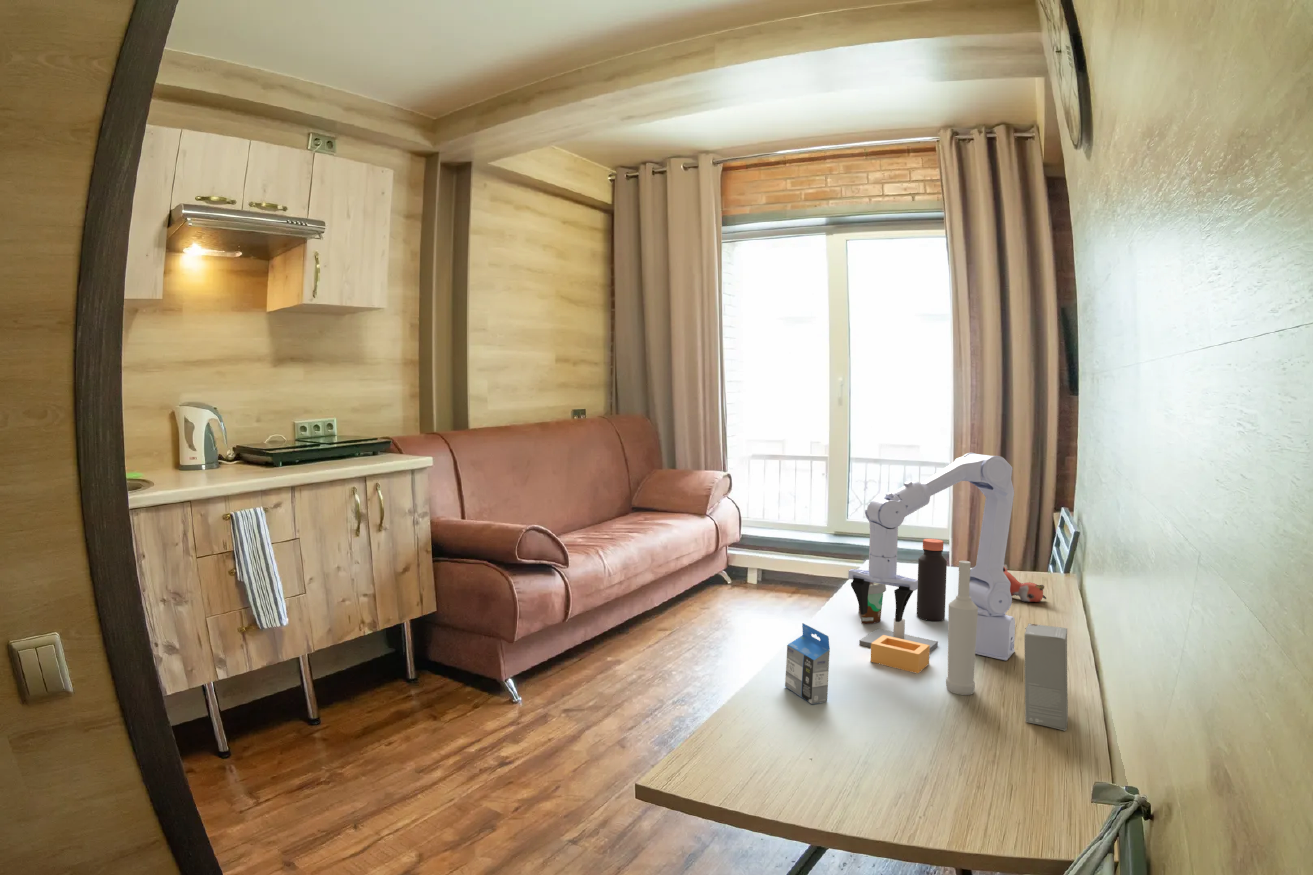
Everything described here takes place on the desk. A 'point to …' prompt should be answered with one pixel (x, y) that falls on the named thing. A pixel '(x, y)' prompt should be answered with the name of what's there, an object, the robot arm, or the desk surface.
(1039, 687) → the skincare box
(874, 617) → the food container
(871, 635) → the plate
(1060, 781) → the desk surface
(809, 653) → the label tape box
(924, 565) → the vinegar
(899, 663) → the link
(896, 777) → the desk surface
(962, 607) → the bottle
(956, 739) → the desk surface
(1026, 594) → the stuffed fox
